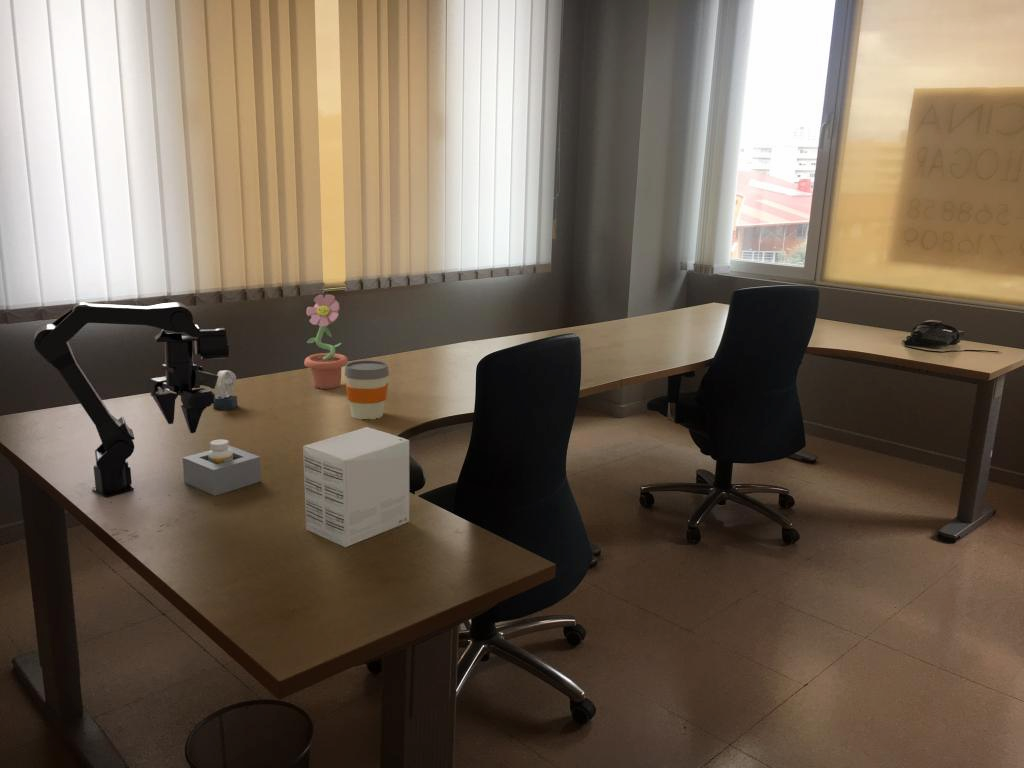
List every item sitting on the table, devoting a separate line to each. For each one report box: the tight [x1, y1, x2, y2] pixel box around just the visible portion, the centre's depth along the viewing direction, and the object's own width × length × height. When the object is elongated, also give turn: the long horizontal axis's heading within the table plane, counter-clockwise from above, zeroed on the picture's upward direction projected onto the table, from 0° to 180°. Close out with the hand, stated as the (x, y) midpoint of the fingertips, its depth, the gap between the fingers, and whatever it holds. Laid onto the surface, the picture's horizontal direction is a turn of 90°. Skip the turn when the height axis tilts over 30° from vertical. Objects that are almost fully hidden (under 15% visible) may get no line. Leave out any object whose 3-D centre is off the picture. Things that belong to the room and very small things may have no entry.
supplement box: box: [302, 426, 410, 548], centre depth 177 cm, size 17×13×18 cm
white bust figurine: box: [212, 369, 238, 410], centre depth 257 cm, size 6×8×11 cm
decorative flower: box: [304, 293, 349, 390], centre depth 281 cm, size 15×14×30 cm
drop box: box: [182, 445, 262, 497], centre depth 199 cm, size 12×12×6 cm
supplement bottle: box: [208, 438, 233, 464], centre depth 199 cm, size 5×5×10 cm
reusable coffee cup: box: [344, 359, 389, 420], centre depth 253 cm, size 13×13×15 cm
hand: (181, 428), depth 197 cm, fingers open, 9 cm apart
